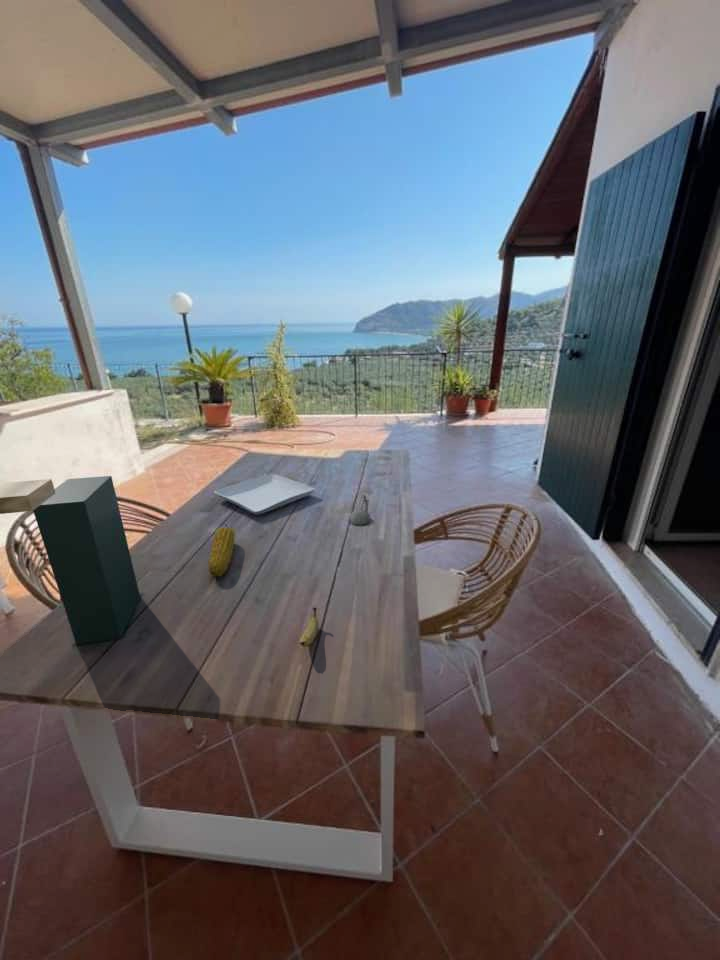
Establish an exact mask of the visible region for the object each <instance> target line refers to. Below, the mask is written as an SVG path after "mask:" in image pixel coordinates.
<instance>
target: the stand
mask: <svg viewBox="0 0 720 960" xmlns="http://www.w3.org/2000/svg"><path fill="white" fill-rule="evenodd" d="M54 489H55V492H56V493H55V494H54V495H53V496H51V497H50V498H49V499H47V500H46V501H45V502H43V503H42V504H41V505H40V506H38V507H37V508H36V509H34V510H33V511H32V512H33V515H34V519H35V522H36V523H37V524H36V525H37V527H38V530H39V533H40V537H41V539H42V543H43V545H44V549H45V552H46V555H47V558H48V561H49V565H50V568H51V571H52V573H53V577H54V580H55V583H56V586H57V589H58V592H59V595H60V598H61V601H62V604H63V605H62V606H63V608H64V611H65V614H66V617H67V620H68V623H69V626H70V630H71V633H72V635H73V639H74V642H75V645H76V646H77V645H78V646H79V645H83V644H84V645H85V644H90V643H97V642H102V641H103V642H104V641H108V640H114V639H121V638H122V636H123V634H124V632H125V630H126V627H127V626H128V623H129V621H130V619H131V616H132V614H133V612H134V610H135V608H136V606H137V603H138V601H139V599H140V597H141V595H140V591H139V586H138V582H137V578H136V574H135V573H136V572H135V569H134V565H133V561H132V556H131V553H130V548H129V544H128V541H127V535H126V531H125V527H124V524H123V519H122V515H121V511H120V507H119V502H118V499H117V494H116V489H115V486H114V482H113V477H112V475H103V476H92V477H78V478H67V479H66V480H64V481H63V482H62V483H60V484H59V485H58V486H56V487H54Z"/></svg>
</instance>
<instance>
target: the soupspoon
mask: <svg viewBox="0 0 720 960" xmlns="http://www.w3.org/2000/svg"><path fill="white" fill-rule="evenodd" d="M366 499H367V495H366V494H362V495H361V501H360V504H359V505H360V506H359V510H354V511H353V512H351V513H350V515H349V521H350V522H351V523H352V524H353V525H355V526H363V525H366V524H368V523H369V521H370V517H371V516H370V514H369V512H368V511H365V510H363V505H364V502H365V501H364V500H366Z"/></svg>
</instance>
